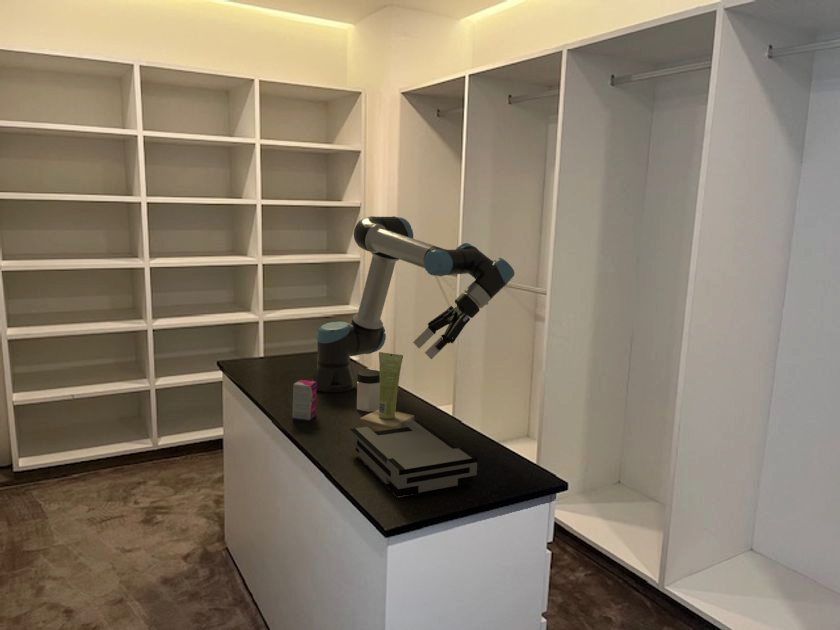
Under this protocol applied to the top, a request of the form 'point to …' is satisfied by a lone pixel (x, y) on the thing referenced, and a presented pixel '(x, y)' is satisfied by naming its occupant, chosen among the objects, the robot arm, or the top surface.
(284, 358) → the top surface
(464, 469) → the game console
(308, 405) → the supplement box
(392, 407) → the tube
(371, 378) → the jar
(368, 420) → the oak block
